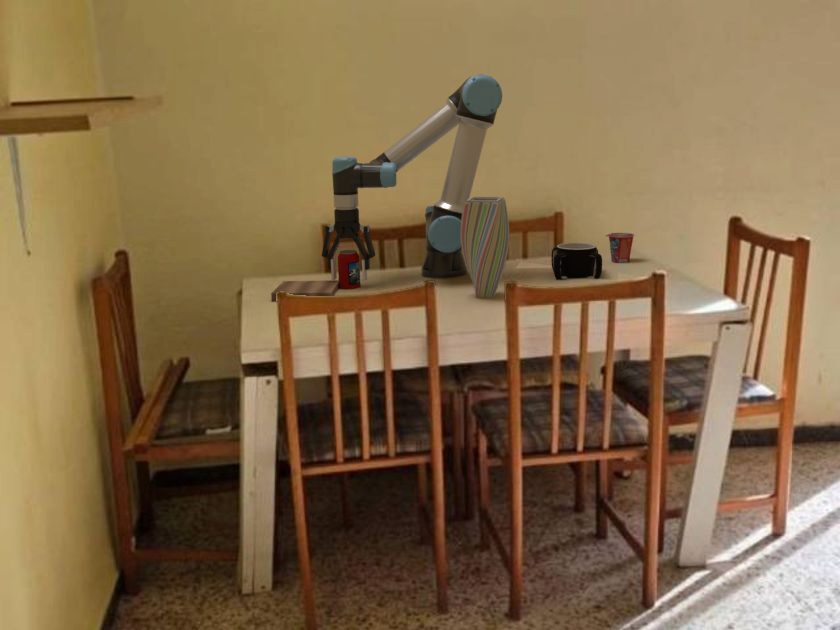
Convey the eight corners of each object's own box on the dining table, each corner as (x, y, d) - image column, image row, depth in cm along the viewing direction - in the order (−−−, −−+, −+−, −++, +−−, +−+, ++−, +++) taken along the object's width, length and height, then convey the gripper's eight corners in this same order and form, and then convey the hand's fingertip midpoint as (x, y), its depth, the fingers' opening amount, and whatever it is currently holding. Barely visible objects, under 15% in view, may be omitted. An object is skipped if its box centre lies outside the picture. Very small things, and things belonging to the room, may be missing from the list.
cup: (616, 266, 306) (617, 231, 303) (638, 269, 300) (639, 234, 297) (600, 270, 300) (601, 235, 297) (621, 273, 294) (622, 237, 291)
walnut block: (340, 289, 283) (339, 280, 282) (331, 302, 265) (331, 292, 264) (283, 290, 284) (283, 281, 283) (271, 303, 266) (271, 293, 265)
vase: (511, 298, 263) (511, 195, 256) (505, 308, 250) (505, 201, 243) (466, 296, 266) (465, 195, 259) (458, 307, 253) (456, 201, 246)
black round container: (551, 277, 290) (552, 241, 287) (602, 278, 287) (603, 241, 284) (548, 288, 275) (548, 249, 272) (601, 289, 271) (602, 250, 269)
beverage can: (357, 291, 276) (355, 253, 274) (336, 291, 278) (334, 253, 275) (363, 287, 283) (361, 249, 280) (342, 286, 284) (340, 249, 281)
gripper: (384, 206, 275) (386, 277, 281) (316, 206, 280) (320, 276, 286) (377, 209, 268) (380, 282, 274) (308, 209, 273) (312, 281, 278)
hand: (349, 279), depth 280 cm, fingers open, 9 cm apart
